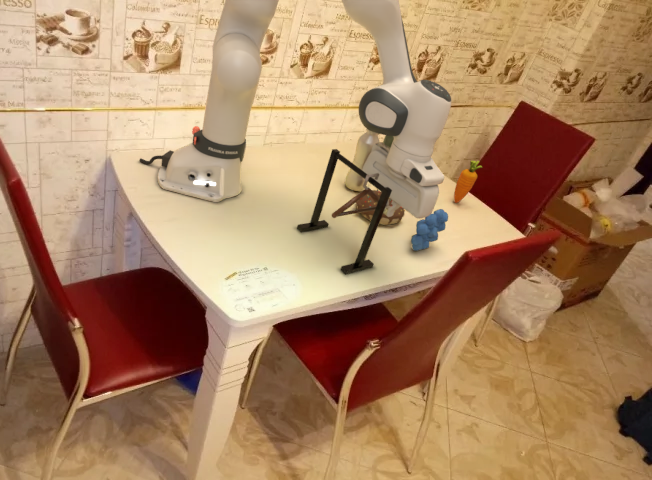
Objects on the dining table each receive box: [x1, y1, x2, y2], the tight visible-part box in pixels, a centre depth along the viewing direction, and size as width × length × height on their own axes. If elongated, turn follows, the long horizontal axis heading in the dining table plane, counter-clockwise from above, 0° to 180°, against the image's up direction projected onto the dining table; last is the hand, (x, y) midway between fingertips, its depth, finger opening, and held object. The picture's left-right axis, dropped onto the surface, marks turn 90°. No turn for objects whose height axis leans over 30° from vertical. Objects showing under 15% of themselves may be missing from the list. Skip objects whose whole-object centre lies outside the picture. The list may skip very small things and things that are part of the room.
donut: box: [355, 189, 406, 226], centre depth 147 cm, size 14×14×5 cm
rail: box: [296, 148, 392, 276], centre depth 123 cm, size 9×20×22 cm, turn 35°
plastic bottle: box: [344, 128, 381, 192], centre depth 152 cm, size 6×7×20 cm
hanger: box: [331, 173, 379, 219], centre depth 116 cm, size 17×1×10 cm, turn 125°
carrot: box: [453, 160, 483, 204], centre depth 162 cm, size 5×5×15 cm
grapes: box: [410, 208, 449, 252], centre depth 135 cm, size 12×7×12 cm, turn 129°
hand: (385, 213), depth 121 cm, fingers closed
